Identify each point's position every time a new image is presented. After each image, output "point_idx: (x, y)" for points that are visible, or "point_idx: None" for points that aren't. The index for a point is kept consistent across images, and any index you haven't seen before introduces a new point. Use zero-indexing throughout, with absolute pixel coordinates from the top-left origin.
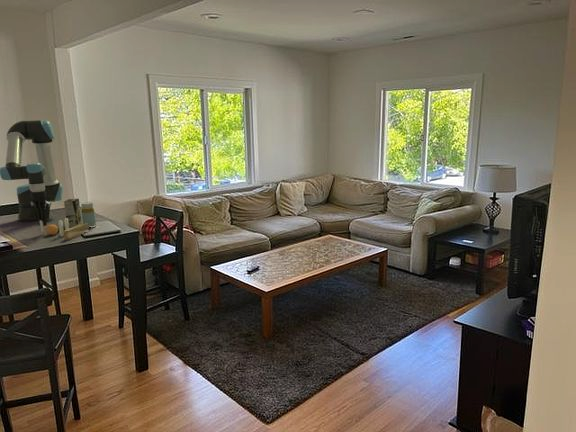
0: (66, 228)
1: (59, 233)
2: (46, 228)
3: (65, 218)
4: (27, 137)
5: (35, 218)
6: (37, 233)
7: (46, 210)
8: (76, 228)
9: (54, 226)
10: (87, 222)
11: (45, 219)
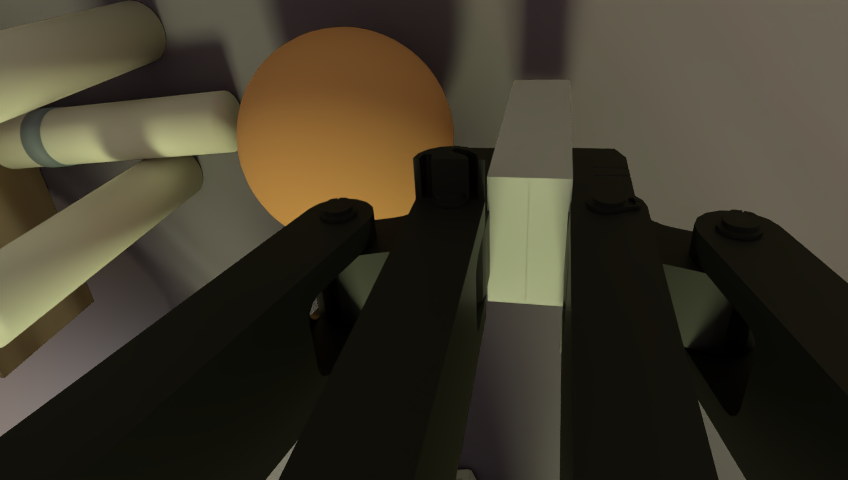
0: (105, 186)
1: (214, 92)
2: (380, 67)
3: (2, 333)
4: None
5: (736, 218)
6: (735, 159)
7: (53, 416)
8: None
9: (241, 152)
10: None
11: (345, 199)
